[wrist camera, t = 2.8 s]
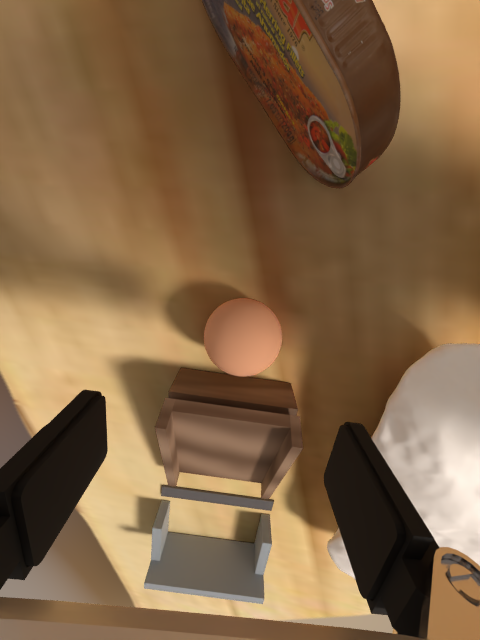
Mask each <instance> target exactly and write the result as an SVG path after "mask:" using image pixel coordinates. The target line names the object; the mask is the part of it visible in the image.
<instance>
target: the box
mask: <svg viewBox="0 0 480 640" xmlns="http://www.w3.org/2000/svg"><path fill="white" fill-rule="evenodd" d="M161 496H166V497H174V498H181V499H188V500H196V501H203V502H211V503H218V504H225V505H233V506H240V507H247V508H255V509H262V510H270V511H271V510H272V506H273V503H274V500H270V499H262V498H255V497H247V496H240V495H233V494H225V493H218V492H211V491H203V490H196V489H189V488H181V487H174V486H166V485H162V492H161ZM169 508H170V501H164V500H161V503H160V506H159V509H158V513H157V516H156V519H155V522H154V525H153V528H152V552H151V562H150V566H149V569H148V572H147V576H146V579H145V582H144V588H145V589H153V590H160V591H168V592H176V593H183V594H191V595H198V596H206V597H214V598H221V599H229V600H236V601H244V602H252V603H259V604H263V601H264V579H263V574H264V571H265V567H266V563H267V560H268V556H269V553H270V549H271V545H272V539H271V525H270V515H268V514H261V518H260V522H259V526H258V530H257V534H256V538H255V543H247V542H240V541H232V540H225V539H217V538H210V537H202V536H195V535H187V534H180V533H173V532H168V523H169Z"/></svg>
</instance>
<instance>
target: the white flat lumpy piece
mask: <svg viewBox="0 0 480 640" xmlns="http://www.w3.org/2000/svg"><path fill="white" fill-rule="evenodd" d="M371 439H372V440H373V442H374V443H375V445H376V447H377V448H378V450H379V451H380V453H381V455H382V456H383V458H384V459H385V461H386V463H387V464H388V466H389V467H390V469H391V470H392V472H393V474H394V475H395V477H396V478H397V480H398V482H399V483H400V485H401V486H402V488H403V490H404V491H405V493H406V494H407V496H408V497H409V499H410V501H411V502H412V504H413V505H414V507H415V509H416V510H417V512H418V513H419V515H420V517H421V518H422V520H423V521H424V523H425V524H426V526H427V528H428V529H429V531H430V532H431V534H432V536H433V537H434V539H435V541H436V543H437V544H438V546H439V547H449V548H453V549H456V550H458V551H460V552H461V553H463V554H465V555H467V556H468V557H469V558H471V559H472V560H473V561H475V562H476V563H477V564H478V565H479V566H480V344H467V343H460V344H455V343H450V344H443V345H440V346H438V347H436V348H434V349H432V350H430V351H429V352H427V353H426V354H425V355H424V356H423V357H422V358H420V359H419V360H417V361H416V362H415V363H413V364H412V365H411V366H410V367H409V368H408V369H407V370H406V372H405V373H404V375H403V376H402V378H401V380H400V382H399V384H398V386H397V387H396V389H395V390H394V392H393V393H392V394H391V396H390V397H389V399H388V401H387V404H386V407H385V411H384V413H383V415H382V417H381V420H380V423H379V425H378V427H377V429H376V430H375V432H374V434H373V436H372V438H371ZM327 549H328V552H329V554H330V556H331V558H332V560H333V561H334V563H335V564H336V566H337V567H338V568H339V569H340V570H341V571H343V572H344V573H346V574H348V575H350V576H351V577H353V578H354V579H355V576H354V573H353V570H352V567H351V564H350V561H349V558H348V555H347V552H346V549H345V546H344V543H343V539H342V536H341V533H340V530H339V527H338V529H337V531H336V533H335V534H334V536H333V537H332V539H330V540H329V541H328V544H327ZM355 580H356V579H355Z"/></svg>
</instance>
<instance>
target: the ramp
mask: <svg viewBox="0 0 480 640" xmlns="http://www.w3.org/2000/svg"><path fill="white" fill-rule="evenodd" d="M297 411H298V408H297V404H296V400H295V397H294V393H293V390H292V386H291V383H286V382H279V381H272V380H265V379H258V378H251V377H242V376H234V375H229V374H222V373H215V372H208V371H201V370H194V369H187V368H181V369H180V370H179V372H178V374H177V376H176V378H175V380H174V382H173V384H172V386H171V388H170V390H169V397H168V398H165V400H164V403H163V406H162V409H161V412H160V415H159V417H158V420H157V423H156V426H155V430H156V435H157V439H158V443H159V448H160V452H161V456H162V460H163V465H164V469H165V473H166V478H167V482H168V486H174V487H176V485H177V480H178V476H179V472H184V473H191V474H199V475H206V476H213V477H220V478H228V479H235V480H242V481H250V482H257V483H261V498H263V499H269V498H270V497H271V495H272V494H273V492H274V491H275V489H276V488H277V486H278V485H279V483H280V482H281V480H282V479H283V477H284V476H285V474H286V473H287V471H288V470H289V469H290V467H291V466H292V464H293V463H294V461H295V460H296V458H297V457H298V455H299V454H300V452H301V451H302V449H303V441H302V432H301V422H300V416H296V415H297Z"/></svg>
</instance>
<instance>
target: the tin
mask: <svg viewBox="0 0 480 640" xmlns="http://www.w3.org/2000/svg"><path fill="white" fill-rule="evenodd" d="M202 2H203V4H204V7H205V9H206V11H207V14H208V16H209V18H210V20H211V22H212V24H213V26H214V28H215V30H216V32H217V34H218V36H219V38H220V40H221V41H222V43H223V45H224V47H225V48H226V50H227V52H228V53H229V55H230V56H231V58H232V60H233V61H234V63H235V64H236V66H237V67H238V69H239V71H240V72H241V74H242V75H243V77H244V78H245V80H246V81H247V83H248V84H249V86H250V88H251V89H252V91H253V92H254V94H255V95H256V97H257V99H258V100H259V102H260V103H261V105H262V106H263V108H264V109H265V111H266V112H267V114H268V116H269V117H270V119H271V121H272V122H273V124H274V125H275V127H276V128H277V130H278V131H279V133H280V135H281V136H282V138H283V139H284V141H285V142H286V144H287V145H288V147H289V149H290V150H291V152H292V153H293V155H294V156H295V157H296V159H297V160H298V161H299V163H300V164H301V165H302V166H303V167H304V168H305V169H306V171H307V172H308V173H309V174H310V175H312V176H313V177H314V178H315V179H316V180H318V181H319V182H321V183H323V184H325V185H327V186H329V187H333V188H343V187H345V186H347V185H349V184H350V183H351V182H352V181H353V179H354V178H355V177H356V176H357V175H358V174H359V173H361V172H362V171H363V170H364V169H366V168H367V167H368V166H369V165H371V164H372V163H373V162H374V161H375V160H376V159H378V158H379V157H380V155H381V154H382V153H383V152H384V151H385V149H386V148H387V147H388V145H389V143H390V142H391V140H392V138H393V136H394V133H395V130H396V127H397V123H398V119H399V111H400V81H399V72H398V67H397V61H396V58H395V54H394V50H393V46H392V43H391V40H390V38H389V35H388V33H387V31H386V29H385V26H384V24H383V22H382V20H381V18H380V16H379V14H378V12H377V10H376V8H375V5H374V3H373V1H372V0H202Z"/></svg>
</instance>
